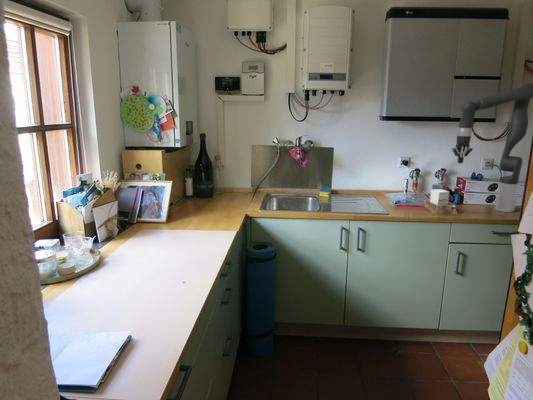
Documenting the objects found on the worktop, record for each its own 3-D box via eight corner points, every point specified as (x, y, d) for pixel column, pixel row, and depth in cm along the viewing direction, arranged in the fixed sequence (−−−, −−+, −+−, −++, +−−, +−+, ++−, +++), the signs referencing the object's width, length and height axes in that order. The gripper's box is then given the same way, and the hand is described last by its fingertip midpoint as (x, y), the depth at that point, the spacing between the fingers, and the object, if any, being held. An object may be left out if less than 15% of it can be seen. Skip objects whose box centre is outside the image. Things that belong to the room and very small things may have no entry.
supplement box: (436, 212, 228) (439, 192, 224) (428, 209, 235) (430, 189, 231) (446, 212, 230) (449, 191, 226) (438, 208, 236) (441, 188, 233)
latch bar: (442, 201, 240) (442, 197, 239) (445, 201, 240) (446, 197, 239) (453, 208, 225) (453, 203, 225) (457, 208, 225) (458, 203, 225)
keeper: (444, 207, 240) (445, 199, 238) (458, 214, 226) (459, 205, 224) (423, 207, 238) (424, 199, 237) (436, 214, 224) (437, 206, 223)
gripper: (470, 134, 239) (466, 162, 243) (450, 134, 237) (446, 162, 242) (478, 135, 232) (473, 164, 236) (457, 135, 230) (453, 164, 235)
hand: (459, 163), depth 239 cm, fingers closed
